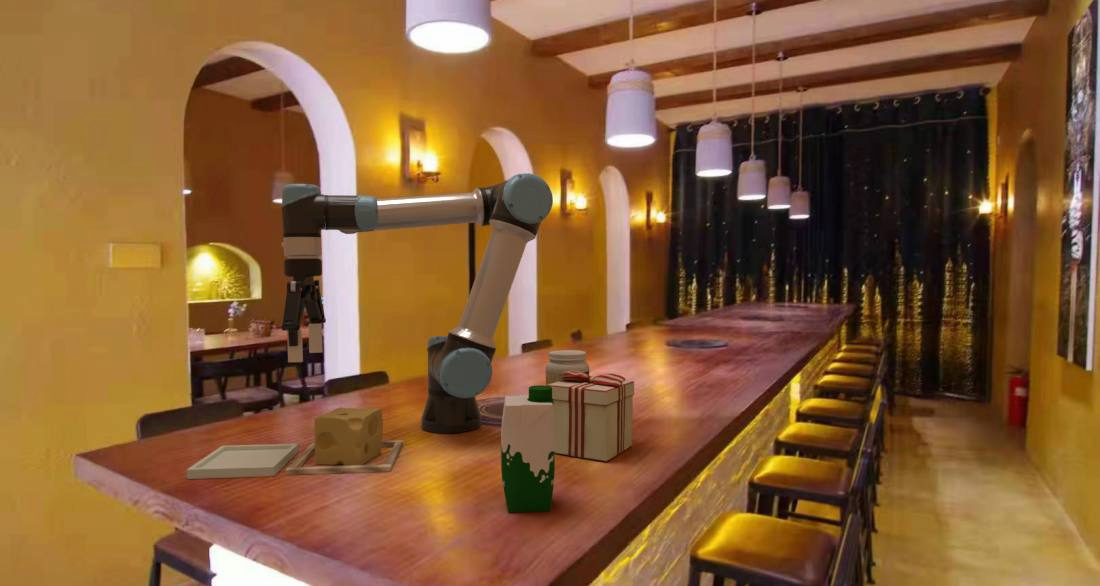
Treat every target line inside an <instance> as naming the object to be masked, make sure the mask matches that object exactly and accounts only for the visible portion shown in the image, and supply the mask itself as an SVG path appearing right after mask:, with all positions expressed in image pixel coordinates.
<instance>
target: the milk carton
mask: <svg viewBox="0 0 1100 586" xmlns="http://www.w3.org/2000/svg"><path fill="white" fill-rule="evenodd" d="M500 428H501V429H500V431H501V432H500V443H501V444H500V462H501V463H500V467H501V468H500V470H501V480H502V487H503V491H504V492H503V493H504V498H505V503H506V508H507V509H506V510H507V513H535V512H538V513H539V512H551V510H552V501H553V496H554V495H553V494H554V492H553V491H554V485H555V470H556V469H555V467H556V463H555V462H556V461H555V460H556V458H555V455H556V453H555V430H554V409H553V398H552V387H550V386H546V385H544V384H543V385H541V384H540V385H539V384H538V385H531V386H529V387H528V394H520V395H511V396H509V395H506V396H504V403H503V410H502V419H501V427H500Z"/></svg>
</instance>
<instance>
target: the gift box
mask: <svg viewBox="0 0 1100 586" xmlns="http://www.w3.org/2000/svg"><path fill="white" fill-rule="evenodd" d="M559 376H561V377H563V378H560V379H563V380H561V381H558V382H555V383H552V384H548V385H546V384H545V386H550V387H552V398H553V409H554V430H555V455H556V454H557V455H564V456H569V457H576V458H580V459H587V460H595V461H601V462H608V461H609V460H611V459H612V458H615V457H616V456H618V455H620V454H621V453H624V452H625V451H626V450H628V449H630V448H631V447H633V415H634V414H633V411H634V410H633V407H634V406H633V404H634V403H633V401H634V400H633V399H634V398H633V397H634V395H635V381H633V380H629V379H628V380H627V379H626V377H624V376H622V375H619V374H616V373H605V374H603V373H602V374H599V375H596V376H593V375H590V374H589V375H588V374H586V373H584V372H581V371H577V370H569V371H565V372H563V373H561V374H560V375H559ZM630 446H631V447H630ZM629 447H630V448H629ZM627 448H628V449H627ZM624 450H625V451H624Z"/></svg>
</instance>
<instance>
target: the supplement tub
mask: <svg viewBox="0 0 1100 586" xmlns="http://www.w3.org/2000/svg"><path fill="white" fill-rule="evenodd" d="M547 357H548V358H547V359H548V360H549V361H548V362H547V363H546V364H545V386H546V385H548V384H552V383H555V382H558V381H561V380H563V379H560V378H563V377H561V376H559V375H560V374H561V373H563V372H565V371H569V370H577V371H581V372H584V373H586V374H588V375H589V376H590V365H589V363H588V362H587V361H586V359H587V352H586V351H585V350H584V351H583V350H577V349H576V350H575V349H563V350H561V349H559V350H552V351H549V352H548V356H547Z"/></svg>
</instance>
